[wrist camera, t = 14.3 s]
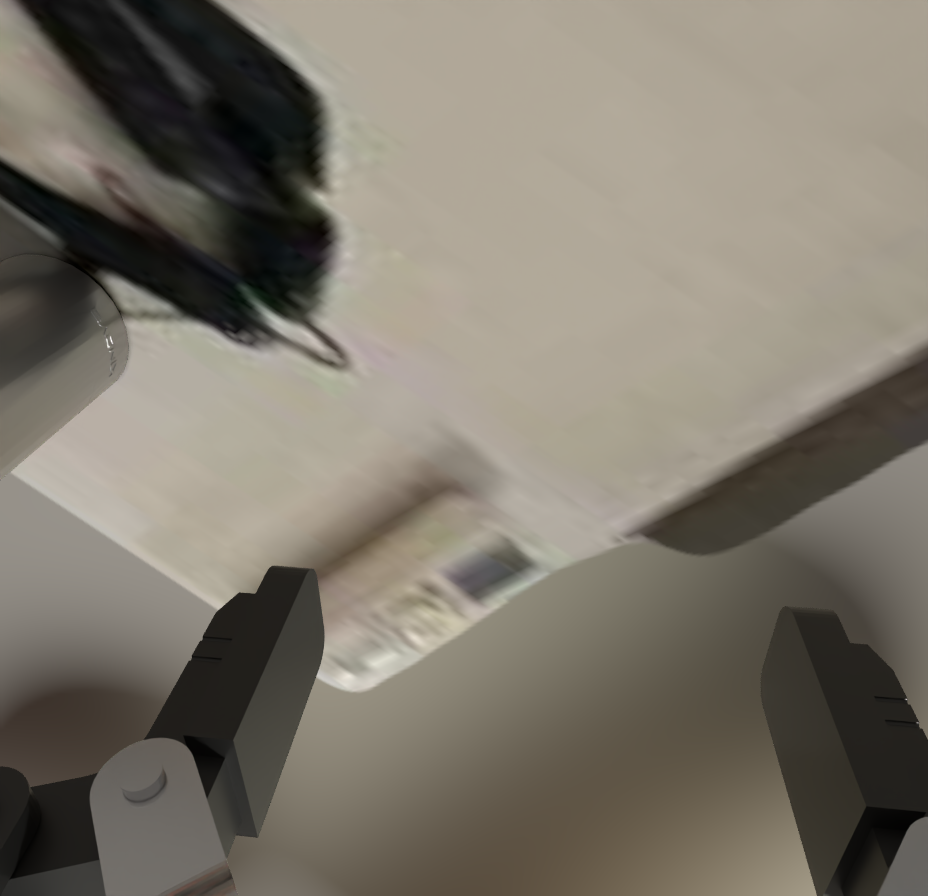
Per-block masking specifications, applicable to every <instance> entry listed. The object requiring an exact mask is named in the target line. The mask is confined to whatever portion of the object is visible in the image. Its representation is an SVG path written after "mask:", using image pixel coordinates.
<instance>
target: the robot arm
mask: <svg viewBox="0 0 928 896" xmlns="http://www.w3.org/2000/svg"><path fill="white" fill-rule="evenodd" d="M128 351H129V343H128V337H127V331H126V328H125V325H124V322H123V320H122V317H121V315H120V313H119V312H118V310H117V308H116V306H115V305H114V303H113V301H112V300H111V299H110V298H109V296H108V295H107V294H106V293H105V291H104V290H103V289H102V288H101V287H100V286H99V285H98V284H97V283H96V282H95V281H93V280H92V279H91V278H90V277H89V276H88V275H86V274H85V273H83V272H82V271H80V270H79V269H77V268H75V267H74V266H72V265H70V264H68V263H65V262H63V261H61V260H59V259H56V258H52V257H48V256H43V255H30V254H24V255H19V256H15V257H10V258H8V259H6V260H4V261H2V262H0V480H1V479H3V478H4V477H5V476H6V475H7V474H8V473H10V472H11V471H12V470H13V469H14V468H15V467H17V466H18V465H19V464H20V463H21V462H22V461H24V460H25V459H26V458H27V457H28V456H29V455H31V454H32V453H33V452H34V451H35V450H36V449H38V448H39V447H40V446H41V445H42V444H43V443H45V442H46V441H47V440H48V439H49V438H50V437H52V436H53V435H54V434H55V433H56V432H57V431H59V430H60V429H61V428H62V427H63V426H64V425H66V424H67V423H68V422H69V421H70V420H71V419H73V418H74V417H75V416H76V415H77V414H79V413H80V412H81V411H82V410H83V409H84V408H85V407H87V406H88V405H89V404H90V403H91V402H92V401H94V400H95V399H96V398H97V397H98V396H99V395H101V394H102V393H103V392H104V391H105V390H106V389H108V388H109V387H110V386H111V385H112V384H113V383H115V382H116V381H117V380H118V378H119V377H120V375H121V374H122V373H123V371H124V369H125V366H126V363H127V360H128ZM323 649H324V624H323V617H322V610H321V602H320V595H319V588H318V580H317V575H316V572H315V570H314V569H310V568H297V567H284V566H271V567H270V568H269V569H268V571H267V573H266V574H265V576H264V578H263V580H262V582H261V584H260V586H259V588H258V590H257V592H256V594H251V593H238V594H237V595H236V596H235V597H233V598H232V599H231V600H230V601H229V602H228V603H226V604H225V605H224V606H223V607H222V608H221V609H219V610H218V611H217V612H216V614H215V615H214V617H213V619H212V621H211V623H210V624H209V626H208V628H207V630H206V632H205V633H204V635H203V640H202V641H200V642H199V644H198V646H197V647H196V649H195V651H194V653H193V655H192V659H191V661H189V662H188V663H187V665H186V667H185V669H184V671H183V672H182V674H181V676H180V678H179V680H178V681H177V683H176V685H175V687H174V688H173V690H172V692H171V694H170V695H169V697H168V699H167V701H166V703H165V704H164V706H163V708H162V710H161V712H160V713H159V715H158V717H157V719H156V721H155V722H154V724H153V726H152V727H151V729H150V731H149V733H148V734H147V736H146V737H145V739H144V740H143V741H140V742H137V743H134V744H132V745H130V746H128V747H126V748H125V749H123V750H121V751H120V752H118V753H117V754H116V755H114V756H113V757H112V758H111V759H110V760H109V761H108V762H107V763H106V764H105V765H104V766H103V767H102V769H101V770H100V771H99V772H98V773H96V774H93V775H89V776H85V777H81V778H75V779H70V780H65V781H61V782H55V783H50V784H45V785H40V786H35V787H30V785H29V783H28V781H27V780H26V778H25V777H24V775H23V774H22V773H20V772H19V771H17V770H15V769H12V768H9V767H0V896H238V893H237V890H236V887H235V883H234V880H233V878H232V875H231V872H230V869H229V866H228V863H227V860H226V859H227V857H228V854H229V851H230V849H231V846H232V844H233V841H234V839H235V836H236V835H239V836H248V837H256V838H257V837H258V836H259V833H260V831H261V827H262V825H263V822H264V819H265V817H266V814H267V811H268V808H269V806H270V803H271V800H272V797H273V795H274V792H275V789H276V786H277V783H278V781H279V778H280V775H281V772H282V769H283V767H284V764H285V761H286V758H287V756H288V753H289V750H290V747H291V745H292V742H293V739H294V736H295V734H296V730H297V728H298V725H299V722H300V720H301V717H302V714H303V711H304V709H305V705H306V703H307V700H308V697H309V694H310V692H311V689H312V686H313V684H314V681H315V678H316V675H317V673H318V670H319V667H320V664H321V660H322V655H323ZM761 698H762V705H763V709H764V712H765V716H766V719H767V723H768V726H769V730H770V733H771V737H772V740H773V744H774V747H775V751H776V754H777V757H778V761H779V765H780V768H781V772H782V775H783V778H784V782H785V785H786V789H787V792H788V796H789V799H790V803H791V806H792V810H793V813H794V817H795V820H796V824H797V827H798V831H799V834H800V838H801V841H802V844H803V848H804V852H805V855H806V859H807V862H808V865H809V869H810V872H811V876H812V879H813V883H814V886H815V890H816V893H817V896H928V739H927V737H926V735H925V733H924V731H923V729H920V728H919V721H918V719H917V717H916V715H915V713H914V711H913V709H912V707H911V705H908V703H907V697H906V695H905V693H904V691H903V689H902V687H901V685H900V683H899V681H898V679H897V677H896V675H895V673H894V671H893V670H892V669H891V668H890V667H889V666H888V665H887V664H886V663H885V662H884V661H883V660H882V659H881V658H880V657H879V656H878V655H877V654H876V653H875V652H874V651H873V650H872V649H871V648H870V647H869V646H868V645H866V644H854V643H850V642H849V640H848V637H847V635H846V633H845V631H844V629H843V627H842V624H841V622H840V620H839V618H838V616H837V614H836V613H835V612H834V611H833V610H828V609H814V608H802V607H788V606H785V607H783V608H782V609H781V611H780V613H779V616H778V619H777V622H776V626H775V629H774V632H773V636H772V639H771V642H770V646H769V649H768V652H767V655H766V658H765V661H764V665H763V668H762V673H761Z"/></svg>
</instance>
